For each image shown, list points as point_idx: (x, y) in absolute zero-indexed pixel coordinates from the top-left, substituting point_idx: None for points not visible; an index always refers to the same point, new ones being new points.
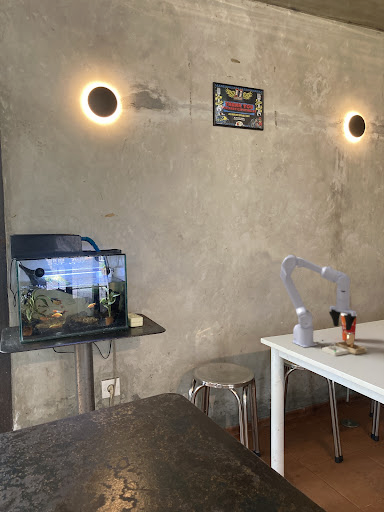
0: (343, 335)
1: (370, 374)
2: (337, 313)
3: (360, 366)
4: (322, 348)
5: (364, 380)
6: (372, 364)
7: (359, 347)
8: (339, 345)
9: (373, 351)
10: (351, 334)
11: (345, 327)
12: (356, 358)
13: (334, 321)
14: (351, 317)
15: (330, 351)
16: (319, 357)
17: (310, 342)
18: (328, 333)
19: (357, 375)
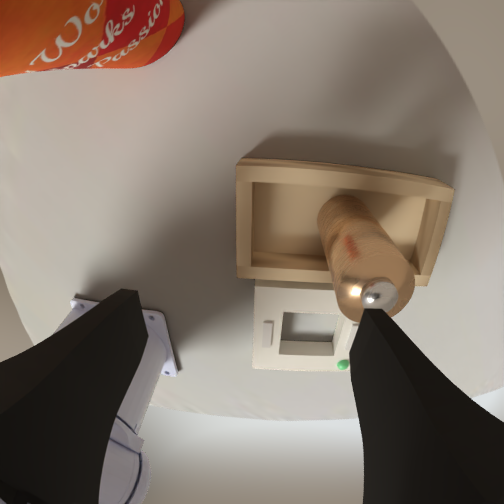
0: (109, 67)
1: (499, 361)
2: (45, 466)
3: (470, 348)
4: (257, 366)
5: (487, 391)
6: (500, 299)
7: (408, 194)
8: (284, 275)
9: (445, 104)
10: (394, 295)
11: (79, 58)
12: (437, 302)
13: (122, 392)
14: (452, 487)
15: (319, 369)
16: (314, 401)
17: (161, 361)
18: (5, 81)
19: (471, 390)
